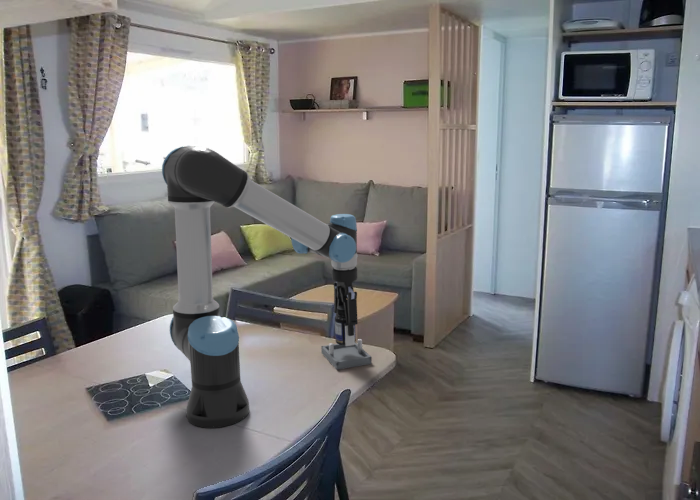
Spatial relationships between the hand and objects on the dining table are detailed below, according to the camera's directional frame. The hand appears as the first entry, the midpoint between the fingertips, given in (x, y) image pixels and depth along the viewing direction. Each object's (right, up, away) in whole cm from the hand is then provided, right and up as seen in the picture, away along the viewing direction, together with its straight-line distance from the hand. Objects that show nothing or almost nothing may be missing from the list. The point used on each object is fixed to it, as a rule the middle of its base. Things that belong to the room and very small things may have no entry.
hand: (346, 341), depth 180 cm
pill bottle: (0, -1, 0) cm, 1 cm away
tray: (0, -5, +1) cm, 5 cm away
